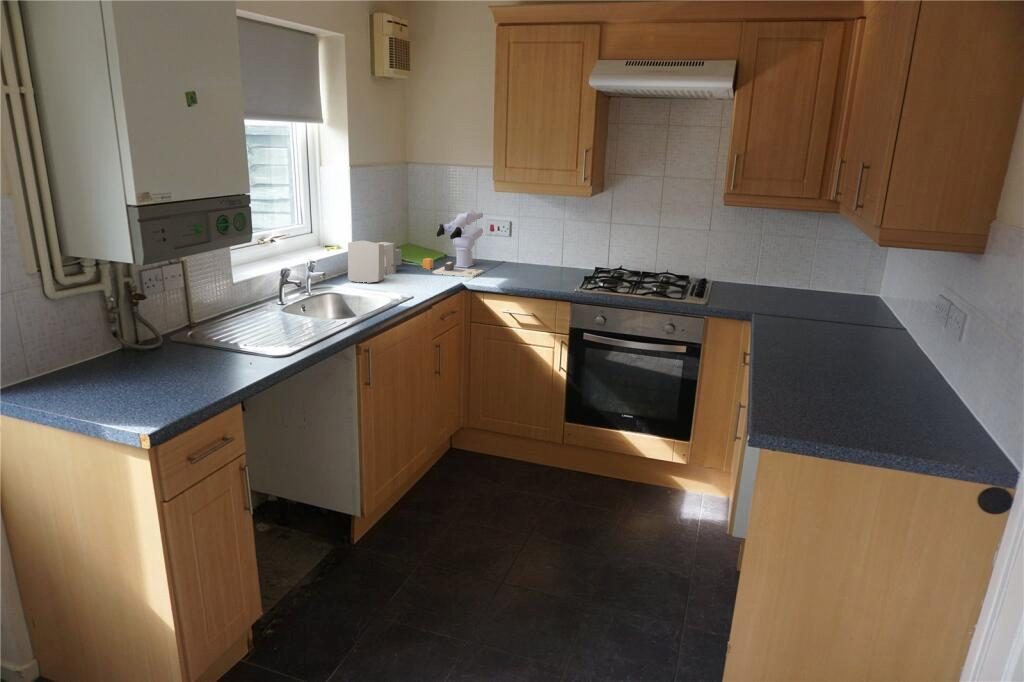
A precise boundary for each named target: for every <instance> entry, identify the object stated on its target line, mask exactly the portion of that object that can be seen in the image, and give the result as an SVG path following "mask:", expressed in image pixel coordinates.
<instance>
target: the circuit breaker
mask: <svg viewBox="0 0 1024 682" xmlns="http://www.w3.org/2000/svg"><path fill="white" fill-rule="evenodd" d="M379 243H382V244H384V276H387V275H386V274H390V275H392V274H391V273H394V274H396V273H397V269H396V268H397V266H400V265H402V264H403V263H402V261H403V259H402V256H403V252H402V249H398V248H396V243H395V242H387V241H381V242H379Z"/></svg>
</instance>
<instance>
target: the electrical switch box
mask: <svg viewBox="0 0 1024 682" xmlns="http://www.w3.org/2000/svg"><path fill="white" fill-rule="evenodd" d="M384 278H385V275H384V244H382V243H380V242H372V241H368V240H363V239H362V240H357V241H349V242H348V243H347V279H348V281H351V282H355V283H359V282H363V283H364V282H367V283H366V284H368V283H376V282H382V281H383V280H384Z"/></svg>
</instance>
